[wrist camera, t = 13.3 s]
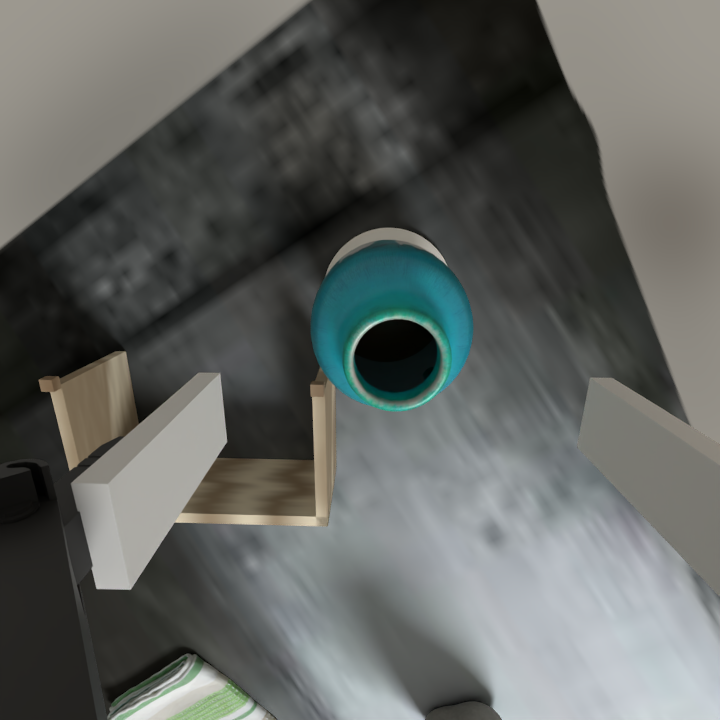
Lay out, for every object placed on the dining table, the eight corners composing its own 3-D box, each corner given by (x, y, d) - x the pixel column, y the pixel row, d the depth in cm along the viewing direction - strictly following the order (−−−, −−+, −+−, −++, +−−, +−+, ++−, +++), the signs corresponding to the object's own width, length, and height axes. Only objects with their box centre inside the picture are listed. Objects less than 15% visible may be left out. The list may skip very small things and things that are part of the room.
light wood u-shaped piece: (137, 463, 45) (75, 526, 36) (114, 344, 41) (38, 379, 32) (336, 468, 45) (326, 532, 35) (334, 347, 40) (323, 384, 31)
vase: (461, 315, 38) (545, 398, 20) (365, 370, 40) (360, 491, 22) (405, 212, 36) (443, 201, 17) (304, 276, 37) (243, 327, 19)
